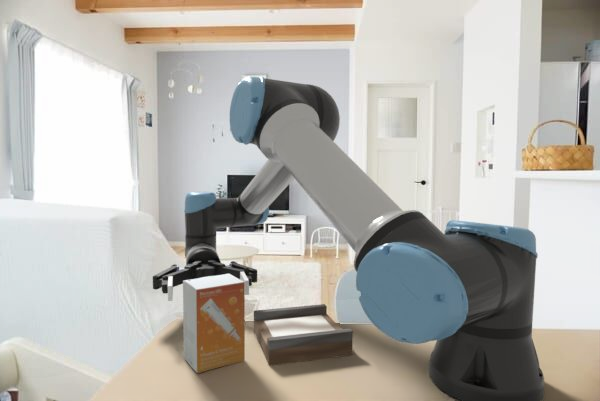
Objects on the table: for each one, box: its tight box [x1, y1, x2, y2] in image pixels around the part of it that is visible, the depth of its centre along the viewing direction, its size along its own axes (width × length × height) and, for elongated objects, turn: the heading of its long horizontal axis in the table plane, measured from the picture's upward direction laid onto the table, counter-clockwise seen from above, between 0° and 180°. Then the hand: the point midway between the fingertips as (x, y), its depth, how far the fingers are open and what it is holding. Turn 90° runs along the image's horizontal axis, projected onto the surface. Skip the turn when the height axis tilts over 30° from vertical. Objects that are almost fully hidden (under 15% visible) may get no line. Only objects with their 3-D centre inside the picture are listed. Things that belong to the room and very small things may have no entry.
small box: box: [182, 274, 246, 374], centre depth 67 cm, size 8×6×13 cm
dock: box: [253, 303, 354, 366], centre depth 74 cm, size 14×14×4 cm
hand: (209, 290), depth 76 cm, fingers open, 13 cm apart
